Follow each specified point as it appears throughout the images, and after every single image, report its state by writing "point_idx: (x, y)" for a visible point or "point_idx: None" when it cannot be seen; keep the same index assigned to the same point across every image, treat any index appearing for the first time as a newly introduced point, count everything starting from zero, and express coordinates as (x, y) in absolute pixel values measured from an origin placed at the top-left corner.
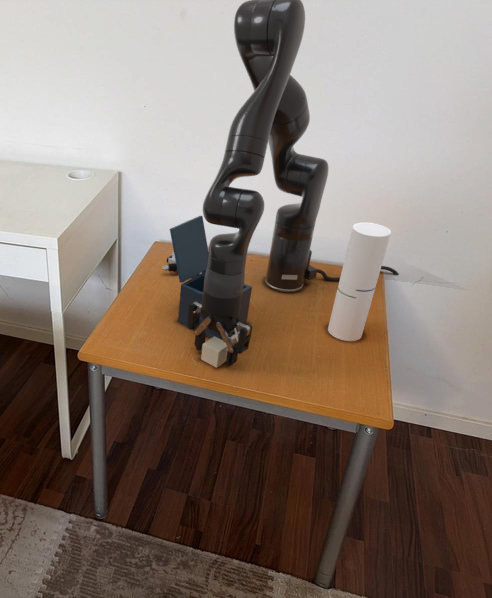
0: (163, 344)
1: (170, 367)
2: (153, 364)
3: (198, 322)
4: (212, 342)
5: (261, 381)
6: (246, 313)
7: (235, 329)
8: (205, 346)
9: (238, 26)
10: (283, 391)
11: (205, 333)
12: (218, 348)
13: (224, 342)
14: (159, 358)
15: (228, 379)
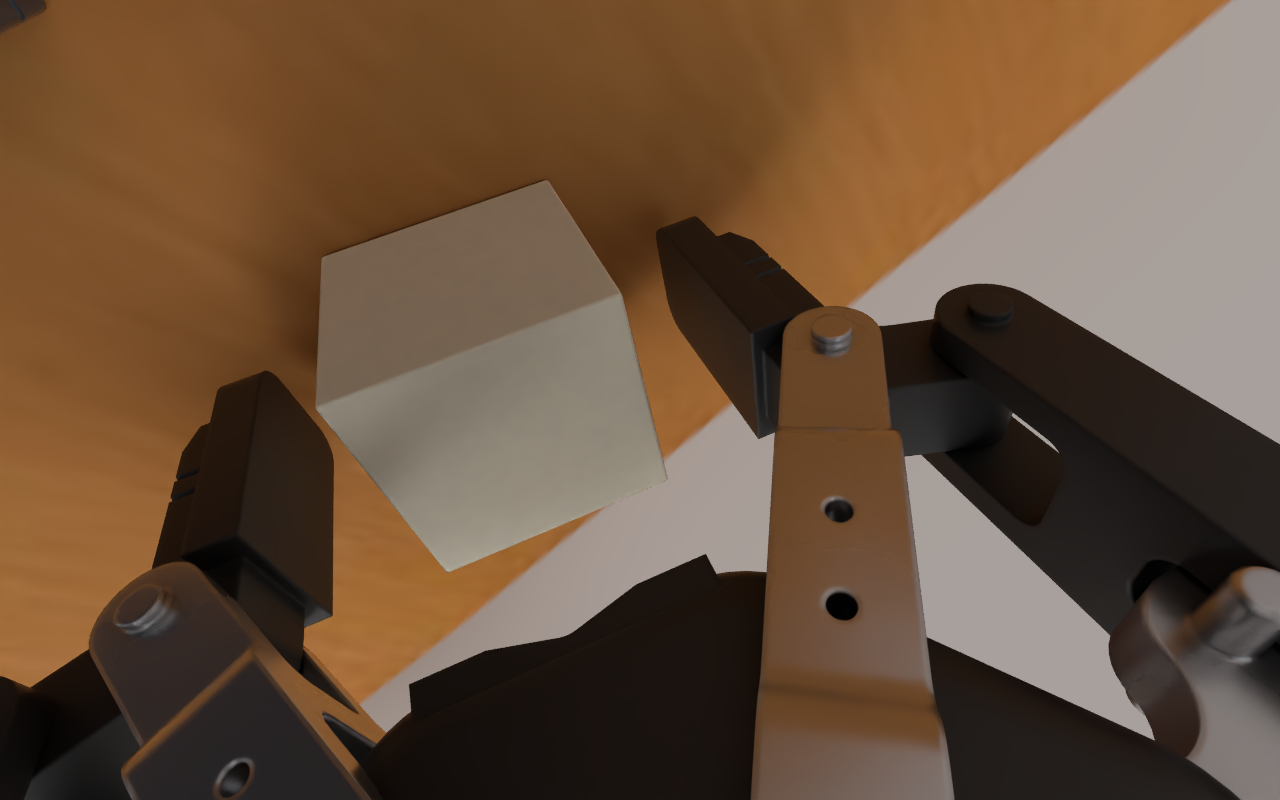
0: (36, 624)
1: (431, 612)
2: (355, 682)
3: (26, 768)
4: (472, 482)
5: (966, 91)
6: None
7: (911, 554)
8: (489, 543)
9: None
10: (1159, 3)
11: (252, 547)
12: (617, 462)
13: (547, 348)
14: None
15: None
